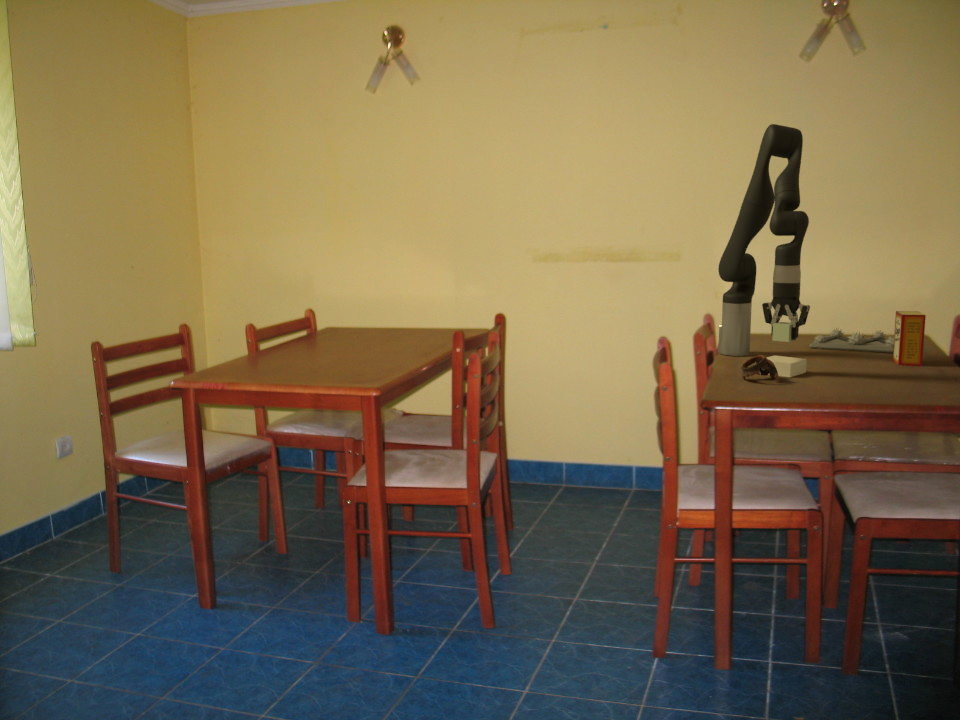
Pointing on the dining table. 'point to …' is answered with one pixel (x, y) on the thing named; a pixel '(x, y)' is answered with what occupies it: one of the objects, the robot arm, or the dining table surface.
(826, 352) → the dining table surface
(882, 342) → the decorative plate
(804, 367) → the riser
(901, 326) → the baking soda box
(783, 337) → the cube
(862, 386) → the dining table surface
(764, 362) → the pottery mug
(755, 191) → the robot arm
